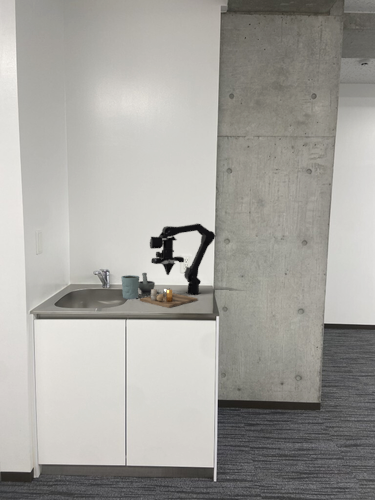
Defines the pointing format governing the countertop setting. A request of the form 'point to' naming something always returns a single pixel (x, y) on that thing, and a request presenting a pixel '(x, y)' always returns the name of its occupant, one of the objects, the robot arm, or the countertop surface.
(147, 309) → the countertop surface
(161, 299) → the dough ball
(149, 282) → the mortar and pestle
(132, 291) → the teal ceramic pot
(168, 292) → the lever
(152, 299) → the board
